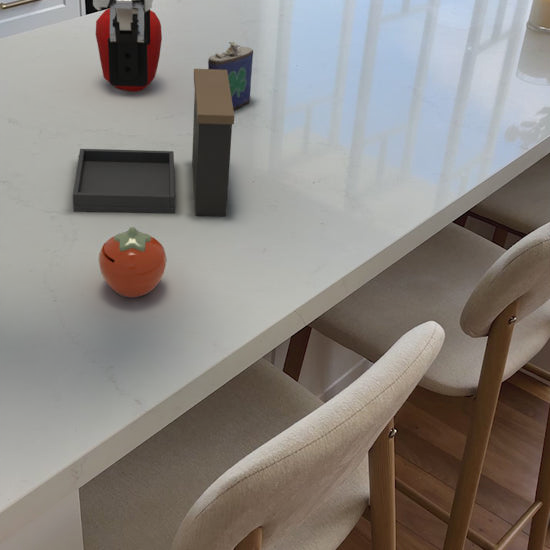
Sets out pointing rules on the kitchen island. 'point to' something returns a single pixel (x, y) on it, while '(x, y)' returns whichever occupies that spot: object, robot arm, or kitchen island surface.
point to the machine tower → (211, 141)
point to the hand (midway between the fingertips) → (131, 63)
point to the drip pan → (124, 181)
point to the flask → (236, 72)
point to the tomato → (132, 263)
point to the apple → (152, 48)
